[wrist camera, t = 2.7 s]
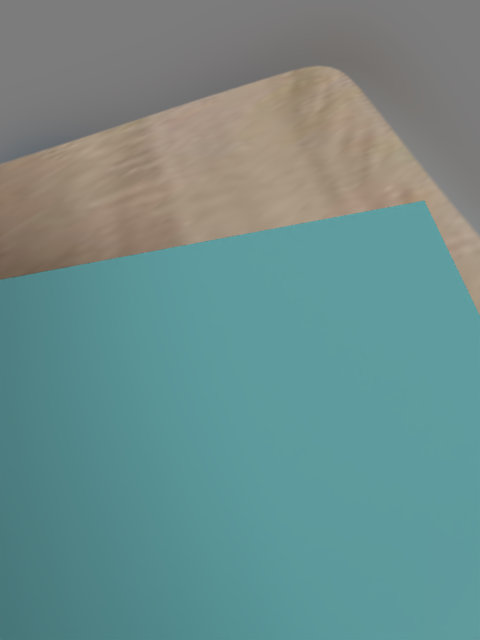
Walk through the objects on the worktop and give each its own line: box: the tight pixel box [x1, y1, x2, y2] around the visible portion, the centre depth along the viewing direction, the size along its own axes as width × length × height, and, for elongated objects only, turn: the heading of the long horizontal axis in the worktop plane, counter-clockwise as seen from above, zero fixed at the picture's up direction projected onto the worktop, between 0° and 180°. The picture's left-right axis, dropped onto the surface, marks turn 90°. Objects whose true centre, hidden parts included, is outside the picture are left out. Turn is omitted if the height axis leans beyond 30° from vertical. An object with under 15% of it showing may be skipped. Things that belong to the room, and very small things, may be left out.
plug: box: [0, 201, 480, 640], centre depth 8 cm, size 4×4×13 cm
